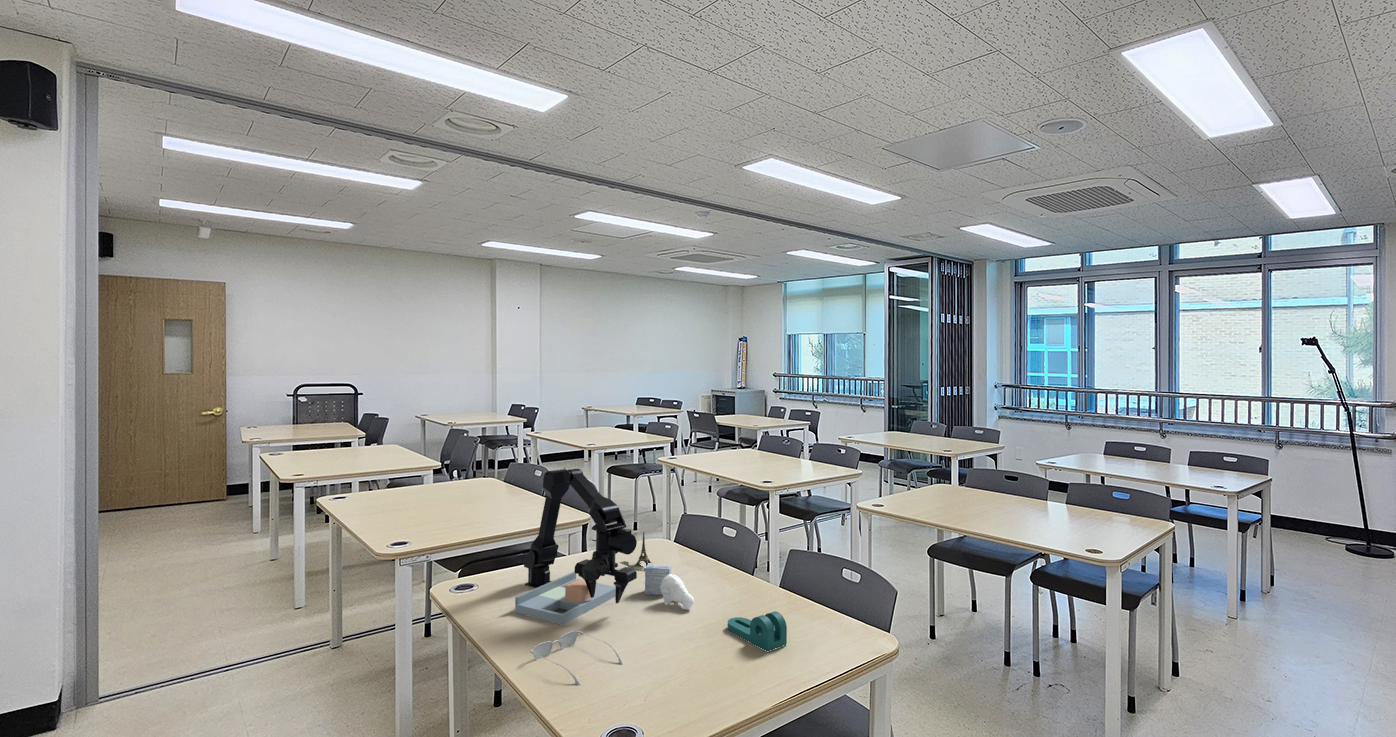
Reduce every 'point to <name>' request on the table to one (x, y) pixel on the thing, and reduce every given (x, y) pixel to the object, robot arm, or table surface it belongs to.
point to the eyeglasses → (564, 642)
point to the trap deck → (559, 601)
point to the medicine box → (655, 578)
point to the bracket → (761, 630)
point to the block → (577, 591)
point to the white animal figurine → (676, 591)
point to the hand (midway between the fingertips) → (604, 600)
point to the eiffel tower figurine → (640, 559)
